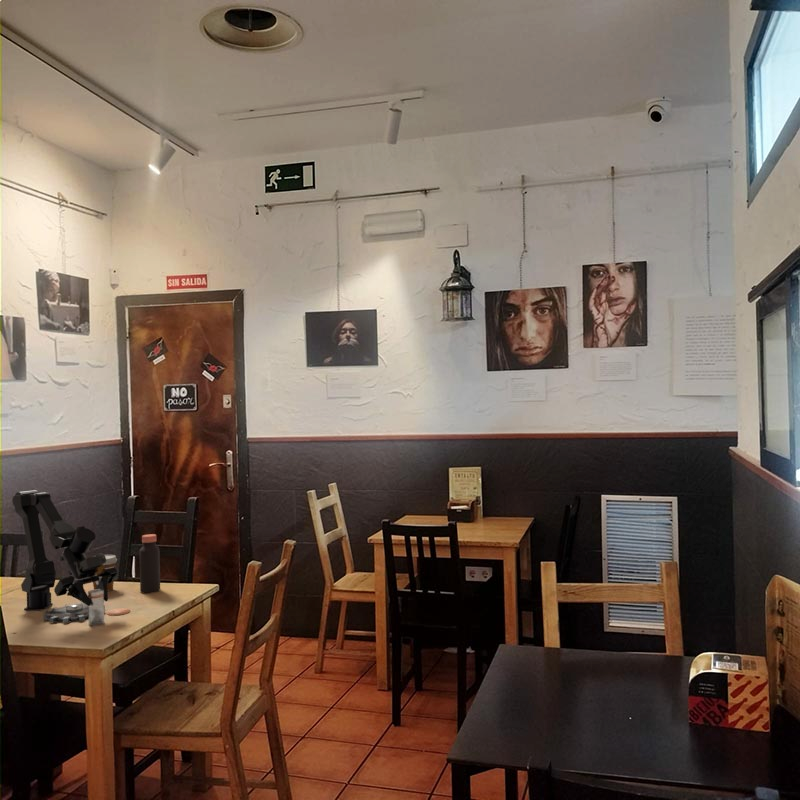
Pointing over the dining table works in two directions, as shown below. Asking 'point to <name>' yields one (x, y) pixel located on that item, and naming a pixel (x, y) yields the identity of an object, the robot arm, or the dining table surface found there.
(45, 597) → the robot arm
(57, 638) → the dining table surface
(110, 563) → the disposable coffee cup
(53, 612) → the sprocket
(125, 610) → the seat pad
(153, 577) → the bottle
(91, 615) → the pin
